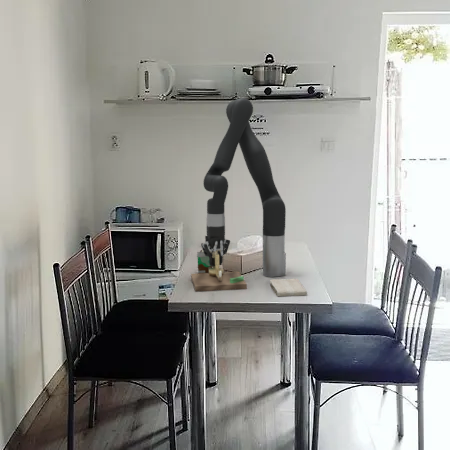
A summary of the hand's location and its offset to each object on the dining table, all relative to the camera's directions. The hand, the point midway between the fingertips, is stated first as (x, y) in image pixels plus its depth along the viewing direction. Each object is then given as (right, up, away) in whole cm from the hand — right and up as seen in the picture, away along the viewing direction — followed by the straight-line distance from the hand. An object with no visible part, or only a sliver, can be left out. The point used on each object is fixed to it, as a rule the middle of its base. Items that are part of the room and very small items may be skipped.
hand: (215, 265), depth 251 cm
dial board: (+1, -7, -5) cm, 8 cm away
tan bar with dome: (+1, -4, -3) cm, 5 cm away
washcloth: (+28, -9, -14) cm, 32 cm away
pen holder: (-1, +2, +44) cm, 44 cm away
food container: (-4, -4, +14) cm, 15 cm away
